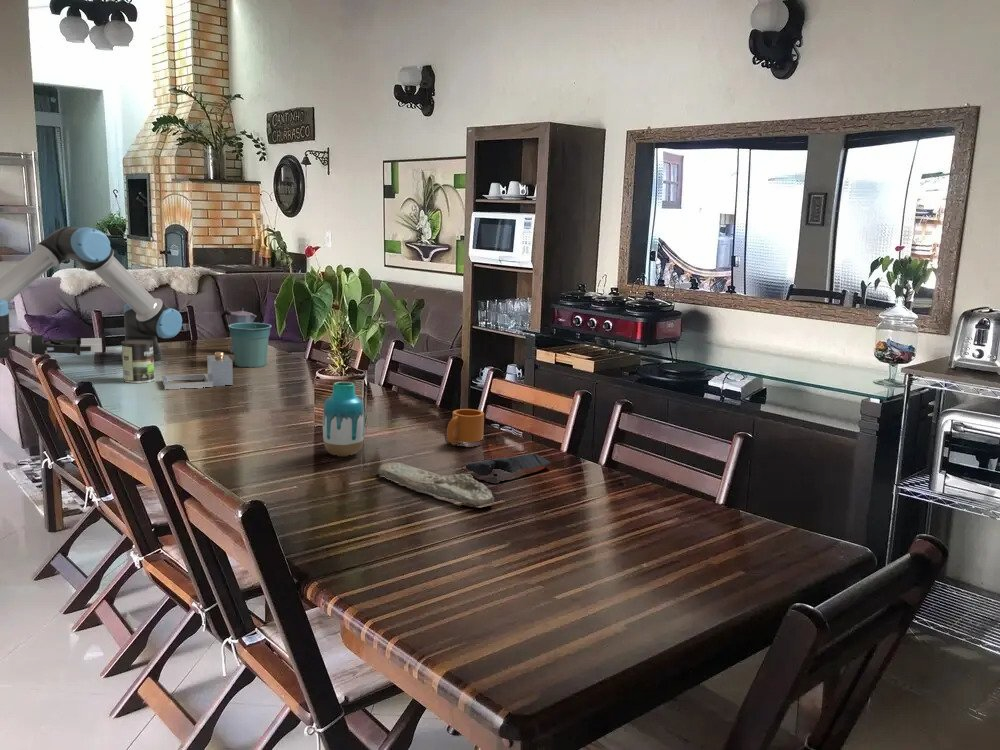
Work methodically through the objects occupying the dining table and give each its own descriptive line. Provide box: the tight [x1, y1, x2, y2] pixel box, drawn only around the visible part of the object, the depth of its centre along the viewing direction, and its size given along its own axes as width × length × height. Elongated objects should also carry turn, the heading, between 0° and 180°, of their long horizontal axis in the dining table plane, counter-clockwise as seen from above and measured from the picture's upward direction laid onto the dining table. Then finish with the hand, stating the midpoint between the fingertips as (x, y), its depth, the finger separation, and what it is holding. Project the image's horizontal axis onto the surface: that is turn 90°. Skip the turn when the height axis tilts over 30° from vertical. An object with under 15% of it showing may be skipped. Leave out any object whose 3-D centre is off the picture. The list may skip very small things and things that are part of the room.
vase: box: [322, 381, 365, 457], centre depth 210 cm, size 11×11×19 cm
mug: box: [446, 408, 485, 442], centre depth 226 cm, size 9×12×9 cm
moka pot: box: [221, 306, 257, 355], centre depth 348 cm, size 10×15×20 cm, turn 89°
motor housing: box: [161, 351, 234, 391], centre depth 286 cm, size 15×22×11 cm
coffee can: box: [120, 340, 155, 384], centre depth 288 cm, size 10×10×14 cm
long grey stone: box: [377, 461, 495, 505], centre depth 188 cm, size 35×5×10 cm
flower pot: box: [228, 322, 272, 369], centre depth 323 cm, size 16×16×16 cm
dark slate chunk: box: [466, 453, 551, 475], centre depth 205 cm, size 15×22×5 cm
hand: (101, 344), depth 281 cm, fingers open, 13 cm apart
